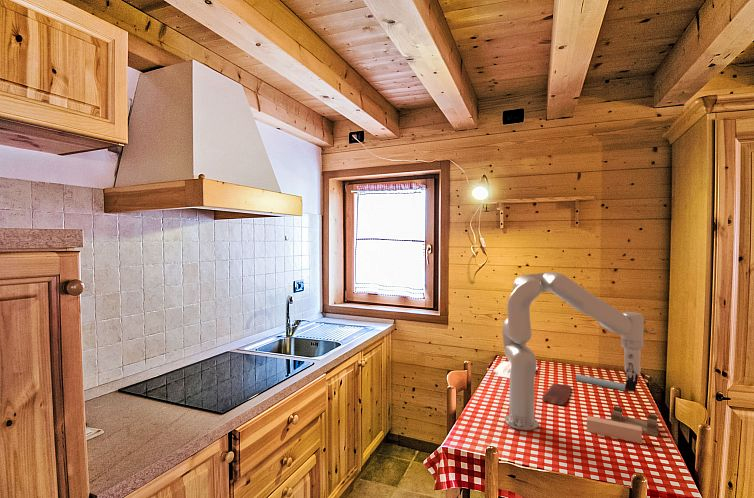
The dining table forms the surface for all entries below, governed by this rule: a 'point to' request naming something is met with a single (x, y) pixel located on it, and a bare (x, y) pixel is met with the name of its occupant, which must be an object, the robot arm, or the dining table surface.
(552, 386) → the wooden tablet
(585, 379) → the grey tube
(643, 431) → the rack
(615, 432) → the clay strip
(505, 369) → the tray
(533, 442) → the dining table surface
